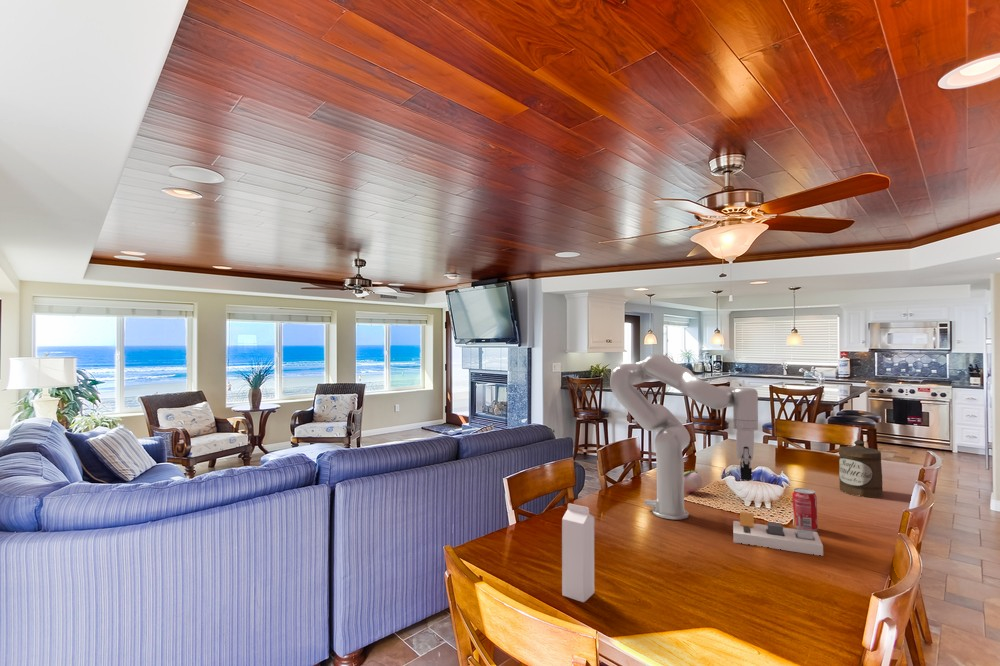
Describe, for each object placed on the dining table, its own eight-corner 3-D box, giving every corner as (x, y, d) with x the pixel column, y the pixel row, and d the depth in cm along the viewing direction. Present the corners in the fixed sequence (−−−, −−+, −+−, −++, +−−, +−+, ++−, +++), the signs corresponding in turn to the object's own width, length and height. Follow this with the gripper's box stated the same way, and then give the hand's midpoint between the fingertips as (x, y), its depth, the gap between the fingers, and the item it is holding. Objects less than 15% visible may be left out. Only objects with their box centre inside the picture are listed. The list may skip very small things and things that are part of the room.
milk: (573, 586, 128) (573, 499, 129) (595, 593, 124) (594, 504, 125) (561, 595, 123) (561, 505, 124) (583, 603, 119) (583, 510, 120)
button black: (768, 536, 156) (768, 525, 156) (767, 532, 160) (767, 521, 160) (783, 538, 155) (782, 527, 155) (781, 534, 158) (781, 523, 158)
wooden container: (831, 489, 215) (831, 438, 215) (852, 485, 221) (851, 436, 222) (869, 499, 201) (868, 445, 202) (890, 495, 208) (889, 442, 208)
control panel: (733, 542, 157) (733, 532, 157) (733, 529, 168) (733, 520, 168) (823, 556, 147) (823, 545, 147) (817, 541, 158) (816, 532, 158)
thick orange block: (740, 533, 163) (739, 512, 163) (740, 531, 164) (739, 511, 164) (753, 535, 161) (753, 514, 161) (753, 533, 162) (753, 513, 162)
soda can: (821, 533, 164) (820, 494, 164) (797, 532, 166) (797, 492, 166) (812, 526, 171) (812, 488, 171) (789, 524, 172) (789, 487, 173)
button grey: (797, 541, 153) (797, 529, 153) (796, 536, 156) (796, 525, 157) (813, 543, 151) (813, 531, 151) (811, 538, 155) (811, 527, 155)
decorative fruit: (695, 497, 204) (695, 472, 204) (676, 492, 210) (676, 469, 210) (706, 492, 210) (706, 469, 210) (687, 488, 216) (687, 465, 216)
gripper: (733, 420, 178) (733, 469, 178) (733, 427, 162) (733, 481, 162) (756, 421, 175) (757, 472, 175) (759, 429, 159) (759, 484, 159)
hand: (745, 476), depth 168 cm, fingers open, 7 cm apart
